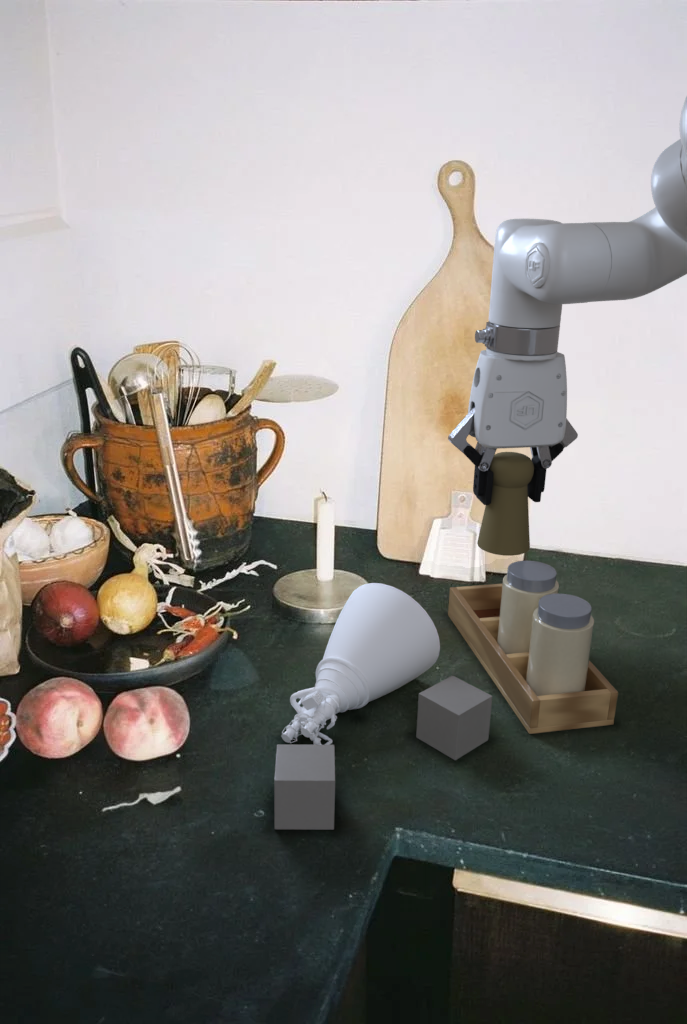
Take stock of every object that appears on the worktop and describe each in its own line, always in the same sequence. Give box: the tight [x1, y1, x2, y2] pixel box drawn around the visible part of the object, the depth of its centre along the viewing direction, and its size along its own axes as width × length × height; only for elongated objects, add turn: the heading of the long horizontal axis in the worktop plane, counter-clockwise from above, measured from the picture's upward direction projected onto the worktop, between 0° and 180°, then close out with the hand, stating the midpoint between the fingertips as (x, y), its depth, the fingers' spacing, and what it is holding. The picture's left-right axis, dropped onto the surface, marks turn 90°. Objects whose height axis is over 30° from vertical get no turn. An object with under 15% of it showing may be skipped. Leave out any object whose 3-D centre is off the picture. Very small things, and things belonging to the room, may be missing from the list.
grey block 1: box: [273, 743, 336, 831], centre depth 80 cm, size 5×5×5 cm
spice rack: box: [447, 583, 619, 735], centre depth 104 cm, size 9×26×4 cm, turn 12°
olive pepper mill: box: [476, 451, 534, 557], centre depth 107 cm, size 6×6×11 cm
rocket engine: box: [280, 582, 441, 745], centre depth 94 cm, size 12×12×18 cm
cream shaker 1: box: [497, 560, 560, 654], centre depth 103 cm, size 6×6×11 cm
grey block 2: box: [415, 675, 493, 761], centre depth 90 cm, size 5×5×5 cm
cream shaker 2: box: [526, 592, 595, 696], centre depth 95 cm, size 6×6×11 cm
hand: (507, 498), depth 106 cm, fingers closed on olive pepper mill, 5 cm apart
